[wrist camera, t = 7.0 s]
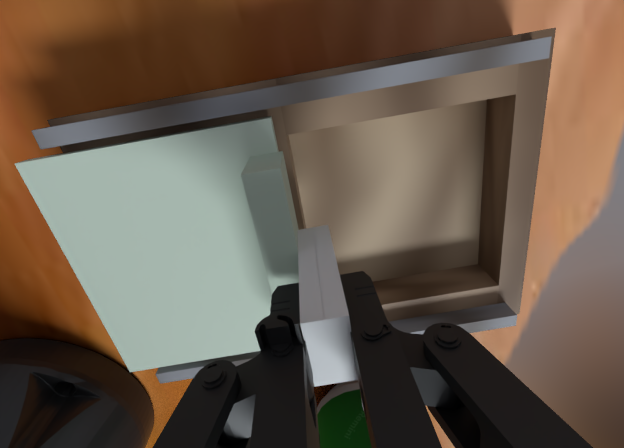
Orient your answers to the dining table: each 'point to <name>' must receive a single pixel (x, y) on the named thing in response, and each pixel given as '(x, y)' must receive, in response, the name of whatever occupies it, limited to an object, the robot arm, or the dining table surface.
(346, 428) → the soda can
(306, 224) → the wooden tray box
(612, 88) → the dining table surface
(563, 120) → the dining table surface
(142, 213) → the lid
